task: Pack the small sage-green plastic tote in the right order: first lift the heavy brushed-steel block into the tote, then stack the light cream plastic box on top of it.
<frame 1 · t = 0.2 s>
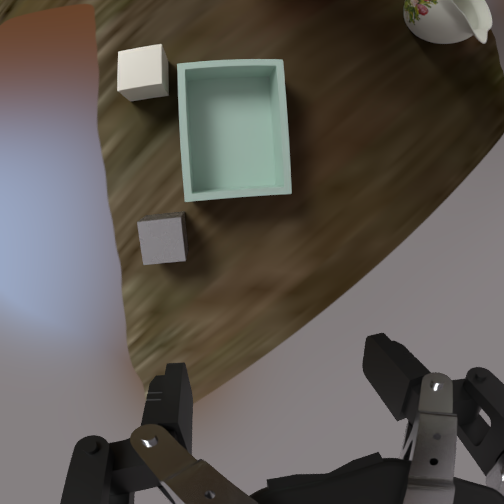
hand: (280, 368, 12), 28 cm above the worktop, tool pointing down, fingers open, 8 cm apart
pitcher: (418, 19, 33), on the worktop
tote: (231, 131, 36), on the worktop
cream box: (149, 80, 33), on the worktop
steel block: (167, 232, 38), on the worktop
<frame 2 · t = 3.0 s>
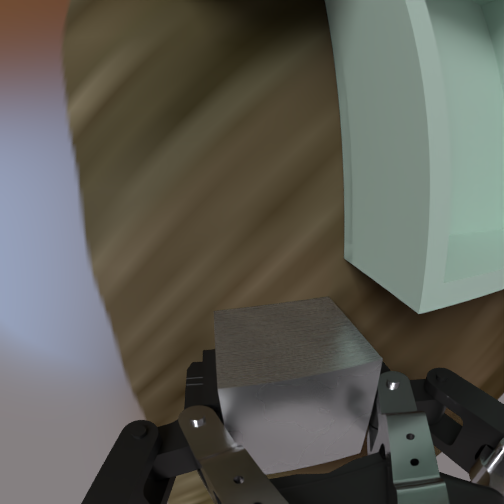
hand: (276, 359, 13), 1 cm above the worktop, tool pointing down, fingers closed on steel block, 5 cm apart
tote: (439, 92, 11), on the worktop
steel block: (275, 352, 14), on the worktop, touching gripper
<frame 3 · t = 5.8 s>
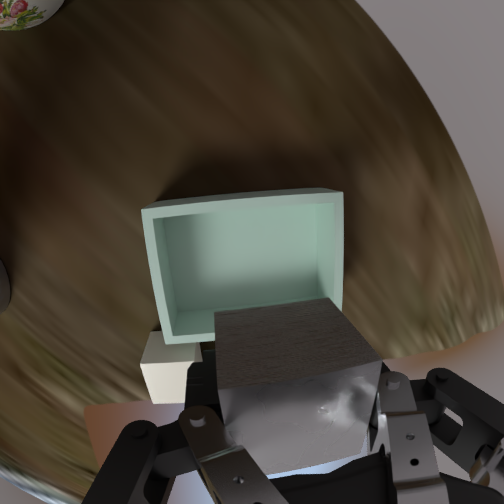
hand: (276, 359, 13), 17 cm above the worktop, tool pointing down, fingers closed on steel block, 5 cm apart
pitcher: (37, 6, 19), on the worktop
tote: (243, 253, 29), on the worktop
cream box: (177, 349, 31), on the worktop
steel block: (275, 353, 14), point 17 cm above the worktop, touching gripper
when the fingers open (3 cm above the worktop, at t = 8.9 s): steel block drops 1 cm, resting on tote.
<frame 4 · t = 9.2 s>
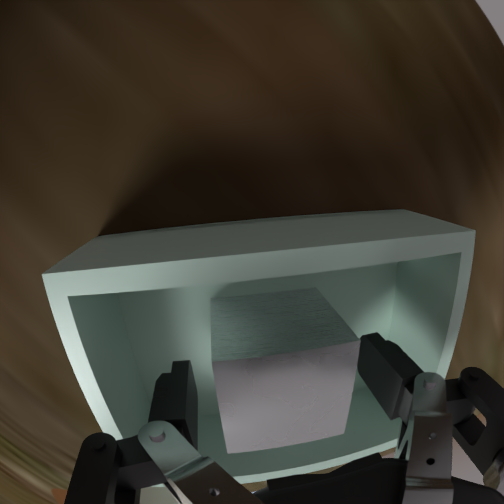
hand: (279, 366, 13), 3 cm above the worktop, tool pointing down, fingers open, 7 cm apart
tote: (266, 330, 16), on the worktop
cream box: (161, 453, 18), on the worktop
steel block: (266, 338, 15), point 1 cm above the worktop, touching tote
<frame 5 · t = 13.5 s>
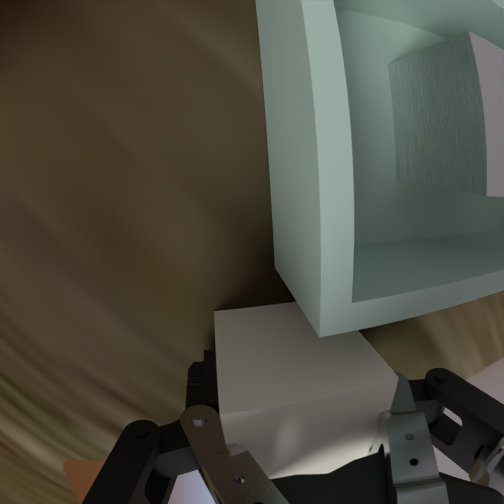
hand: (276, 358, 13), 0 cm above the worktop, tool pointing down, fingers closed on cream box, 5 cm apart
tote: (429, 128, 12), on the worktop
cream box: (275, 352, 14), on the worktop, touching gripper
steel block: (437, 128, 11), point 1 cm above the worktop, touching tote
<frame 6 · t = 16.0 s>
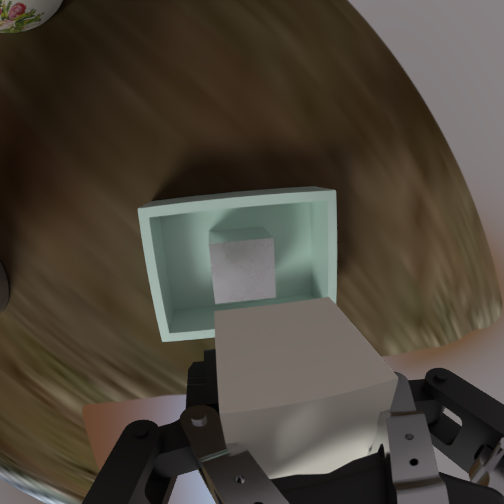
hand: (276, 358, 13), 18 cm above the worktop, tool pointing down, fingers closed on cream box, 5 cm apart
pitcher: (34, 8, 19), on the worktop
tote: (238, 252, 30), on the worktop
cream box: (275, 352, 14), point 17 cm above the worktop, touching gripper
steel block: (237, 254, 29), point 1 cm above the worktop, touching tote
when the fingers open (8 cm above the worktop, at t = 18.3 s): cream box drops 1 cm, resting on steel block.
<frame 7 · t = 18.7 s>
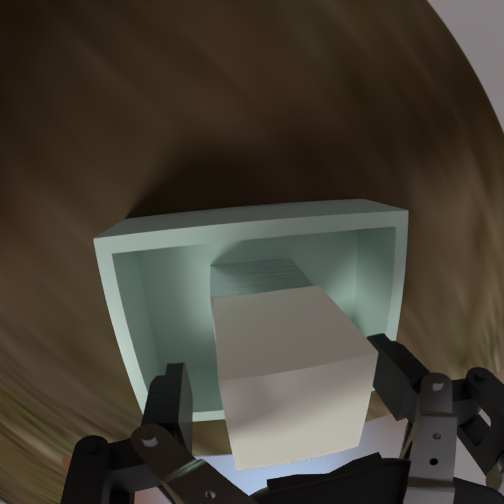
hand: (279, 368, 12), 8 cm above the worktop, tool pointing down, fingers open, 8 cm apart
tote: (253, 293, 20), on the worktop
cream box: (270, 337, 15), point 6 cm above the worktop, touching steel block
steel block: (252, 298, 20), point 1 cm above the worktop, touching cream box, tote
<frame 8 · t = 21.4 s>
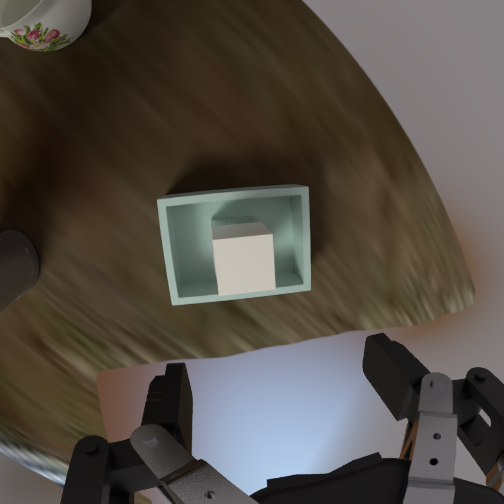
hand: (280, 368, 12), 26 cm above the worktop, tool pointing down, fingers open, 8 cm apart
pitcher: (61, 29, 27), on the worktop
tote: (234, 236, 37), on the worktop
cream box: (238, 247, 32), point 6 cm above the worktop, touching steel block
steel block: (233, 237, 37), point 1 cm above the worktop, touching cream box, tote
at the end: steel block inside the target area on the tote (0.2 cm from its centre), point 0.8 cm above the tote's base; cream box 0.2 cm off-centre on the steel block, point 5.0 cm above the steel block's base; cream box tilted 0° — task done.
